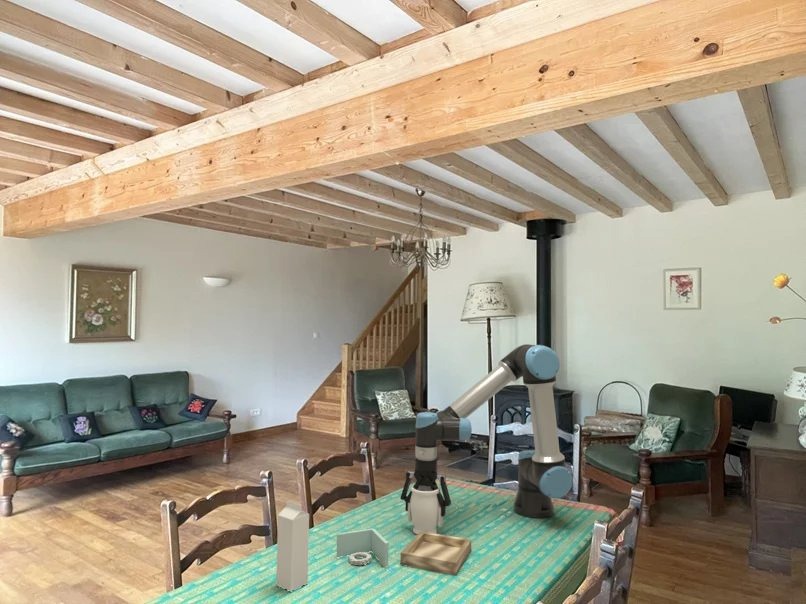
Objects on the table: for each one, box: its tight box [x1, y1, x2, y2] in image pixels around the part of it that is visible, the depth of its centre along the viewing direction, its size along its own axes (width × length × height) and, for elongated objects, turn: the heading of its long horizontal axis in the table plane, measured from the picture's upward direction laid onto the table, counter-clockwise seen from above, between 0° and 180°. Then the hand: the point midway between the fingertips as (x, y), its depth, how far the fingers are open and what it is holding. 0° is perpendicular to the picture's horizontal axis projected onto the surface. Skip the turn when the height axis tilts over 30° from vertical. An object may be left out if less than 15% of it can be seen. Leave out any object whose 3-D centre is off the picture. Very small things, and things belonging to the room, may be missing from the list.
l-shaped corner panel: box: [336, 528, 389, 568], centre depth 158 cm, size 12×12×8 cm
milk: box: [275, 500, 310, 591], centre depth 143 cm, size 6×6×22 cm
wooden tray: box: [400, 531, 472, 576], centre depth 161 cm, size 17×18×4 cm
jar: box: [410, 484, 441, 536], centre depth 182 cm, size 11×10×15 cm
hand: (425, 523), depth 182 cm, fingers closed on jar, 10 cm apart
